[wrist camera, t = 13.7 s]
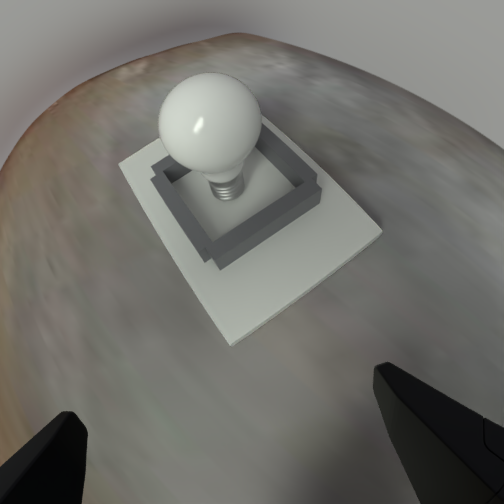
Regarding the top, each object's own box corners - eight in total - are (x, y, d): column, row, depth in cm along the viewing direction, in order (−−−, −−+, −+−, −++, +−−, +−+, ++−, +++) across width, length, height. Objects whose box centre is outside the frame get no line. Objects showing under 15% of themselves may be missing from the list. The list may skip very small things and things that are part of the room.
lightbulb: (207, 156, 27) (174, 53, 17) (277, 168, 26) (270, 56, 16) (179, 217, 25) (123, 118, 15) (255, 234, 24) (234, 126, 14)
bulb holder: (379, 236, 24) (390, 218, 21) (231, 346, 22) (224, 341, 19) (239, 101, 31) (235, 80, 29) (122, 170, 29) (109, 151, 26)
